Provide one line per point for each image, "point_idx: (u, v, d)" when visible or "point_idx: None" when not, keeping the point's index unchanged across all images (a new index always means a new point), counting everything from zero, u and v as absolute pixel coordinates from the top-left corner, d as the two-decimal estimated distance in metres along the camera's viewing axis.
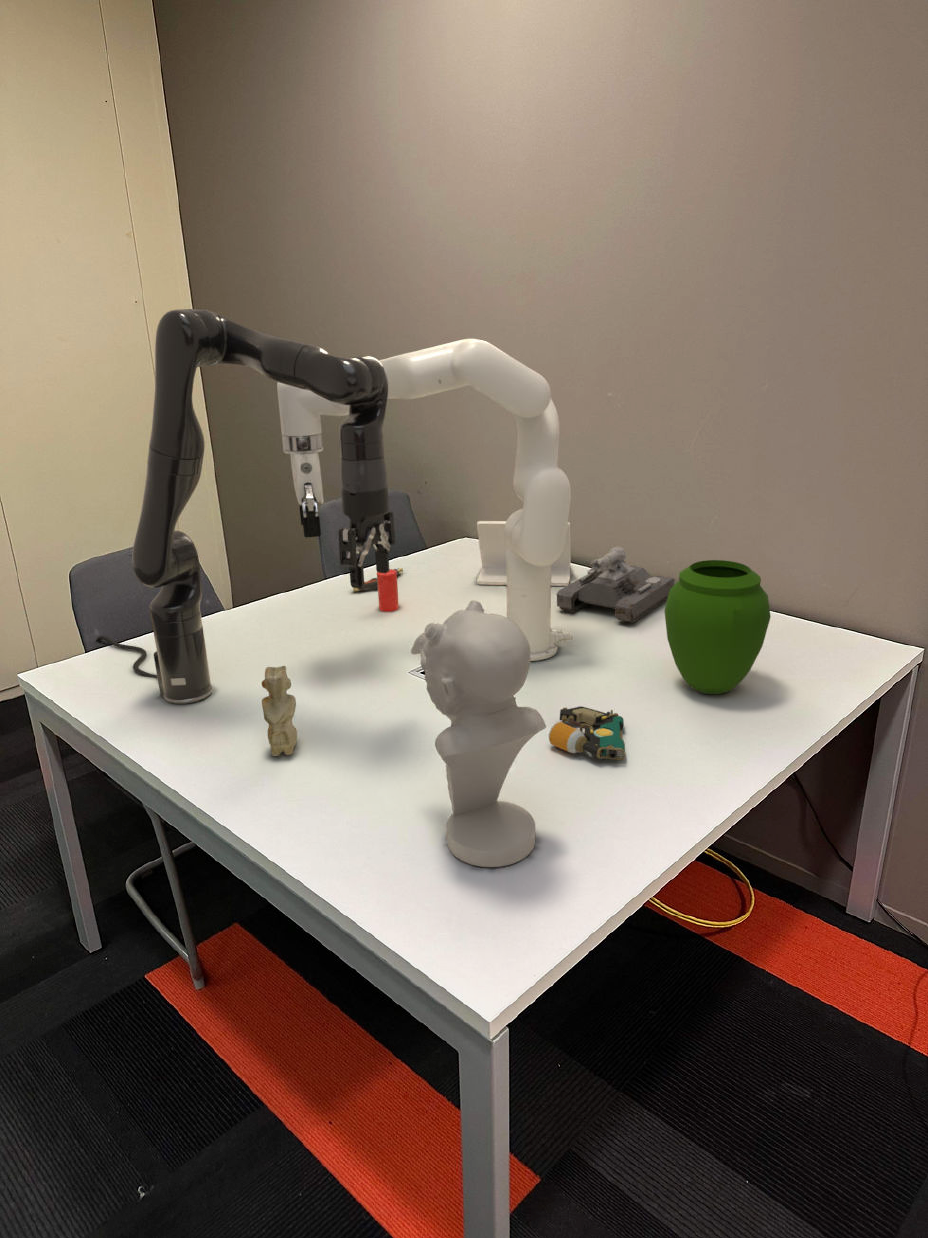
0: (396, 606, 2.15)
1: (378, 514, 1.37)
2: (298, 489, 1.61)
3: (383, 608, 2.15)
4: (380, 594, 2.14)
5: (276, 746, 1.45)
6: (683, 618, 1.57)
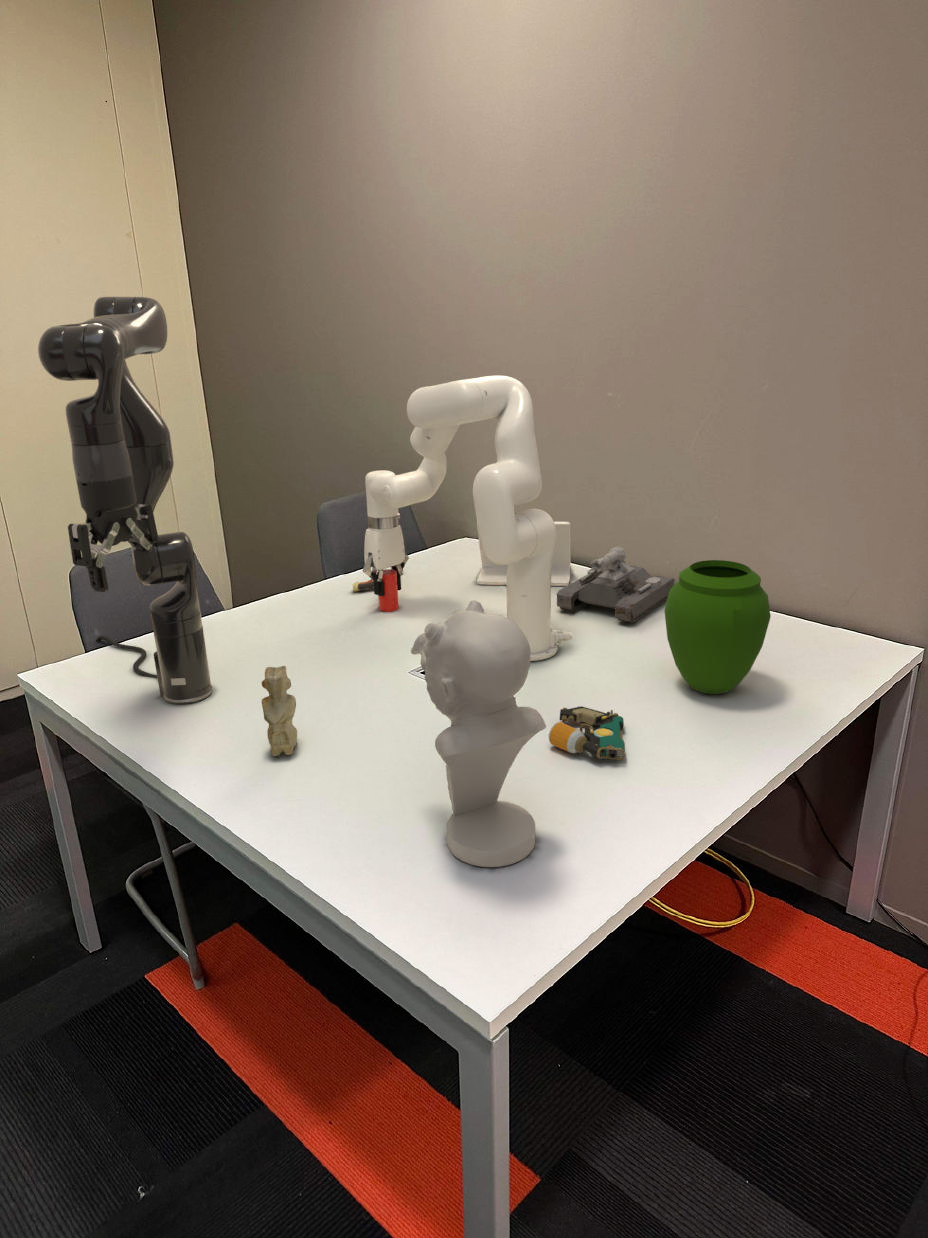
0: (396, 606, 2.15)
1: (117, 507, 1.20)
2: (404, 549, 2.14)
3: (383, 608, 2.15)
4: None
5: (276, 746, 1.45)
6: (683, 618, 1.57)
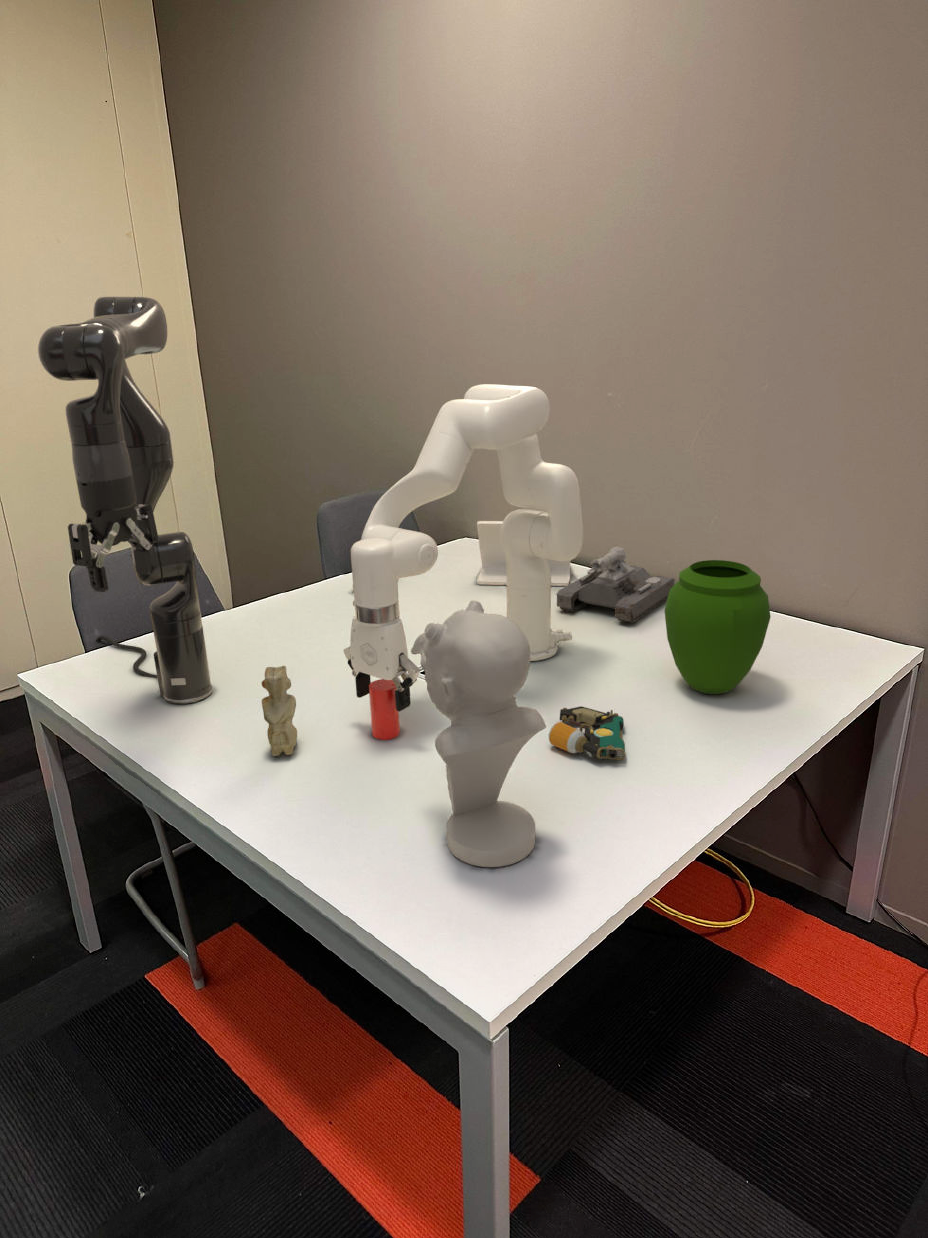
0: None
1: (117, 507, 1.20)
2: None
3: (398, 731, 1.53)
4: (394, 715, 1.51)
5: (276, 746, 1.45)
6: (683, 618, 1.57)
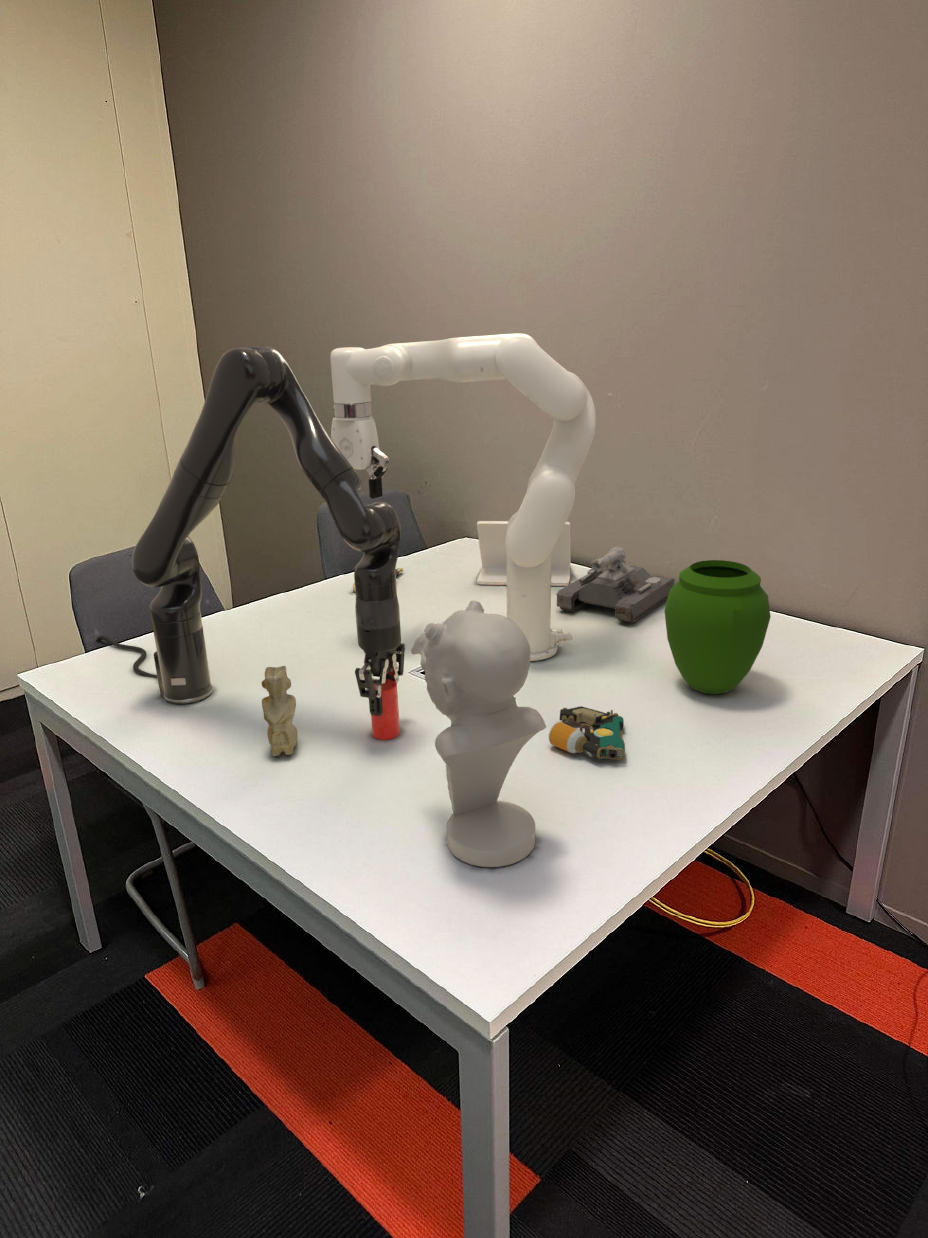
0: None
1: (391, 648, 1.45)
2: None
3: (398, 731, 1.53)
4: (394, 715, 1.51)
5: (276, 746, 1.45)
6: (683, 618, 1.57)
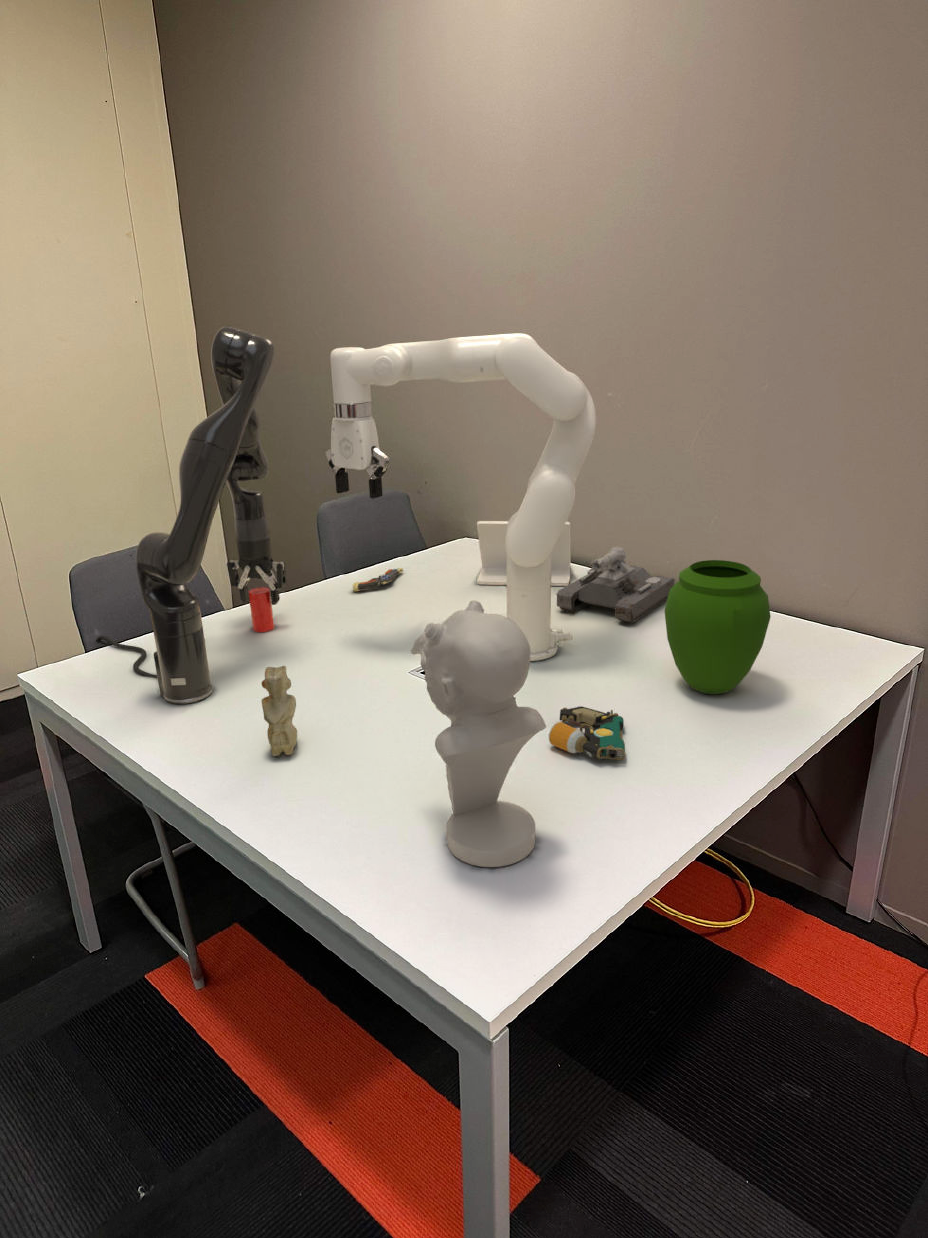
0: None
1: None
2: None
3: None
4: None
5: (276, 746, 1.45)
6: (683, 618, 1.57)
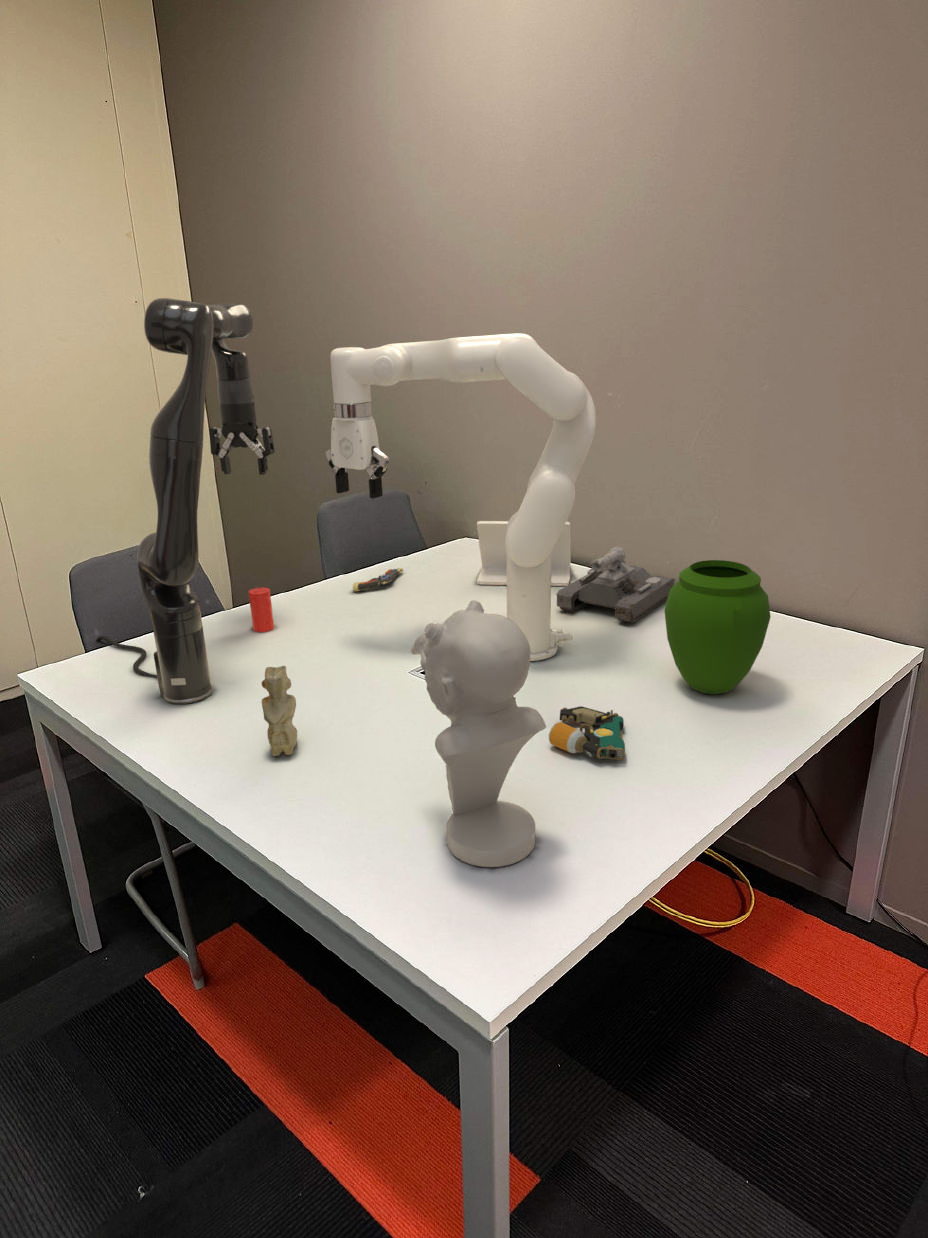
0: None
1: None
2: None
3: None
4: None
5: (276, 746, 1.45)
6: (683, 618, 1.57)
